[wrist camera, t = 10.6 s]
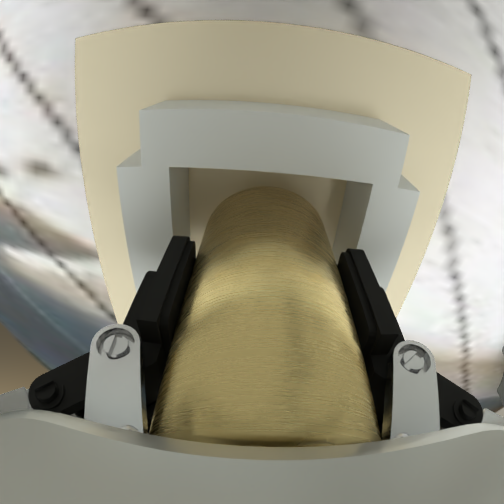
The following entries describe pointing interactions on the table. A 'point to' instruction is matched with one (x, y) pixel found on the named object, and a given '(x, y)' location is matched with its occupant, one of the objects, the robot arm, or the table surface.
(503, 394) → the hip flask
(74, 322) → the table surface
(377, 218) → the sleeve block
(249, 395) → the cylinder
